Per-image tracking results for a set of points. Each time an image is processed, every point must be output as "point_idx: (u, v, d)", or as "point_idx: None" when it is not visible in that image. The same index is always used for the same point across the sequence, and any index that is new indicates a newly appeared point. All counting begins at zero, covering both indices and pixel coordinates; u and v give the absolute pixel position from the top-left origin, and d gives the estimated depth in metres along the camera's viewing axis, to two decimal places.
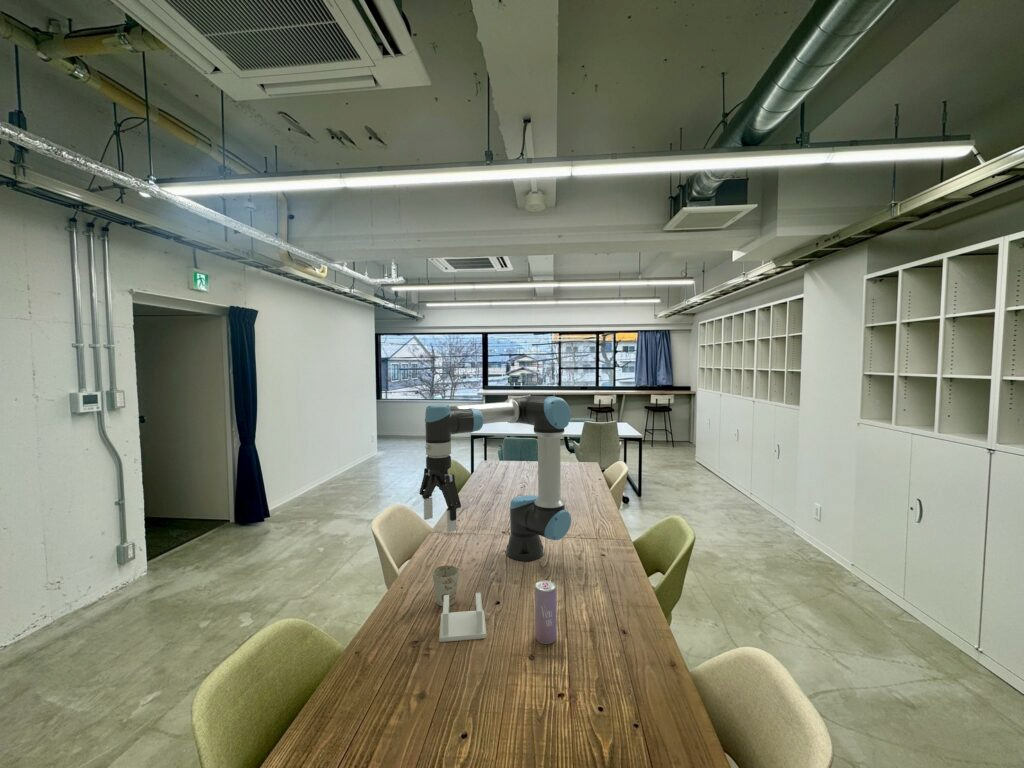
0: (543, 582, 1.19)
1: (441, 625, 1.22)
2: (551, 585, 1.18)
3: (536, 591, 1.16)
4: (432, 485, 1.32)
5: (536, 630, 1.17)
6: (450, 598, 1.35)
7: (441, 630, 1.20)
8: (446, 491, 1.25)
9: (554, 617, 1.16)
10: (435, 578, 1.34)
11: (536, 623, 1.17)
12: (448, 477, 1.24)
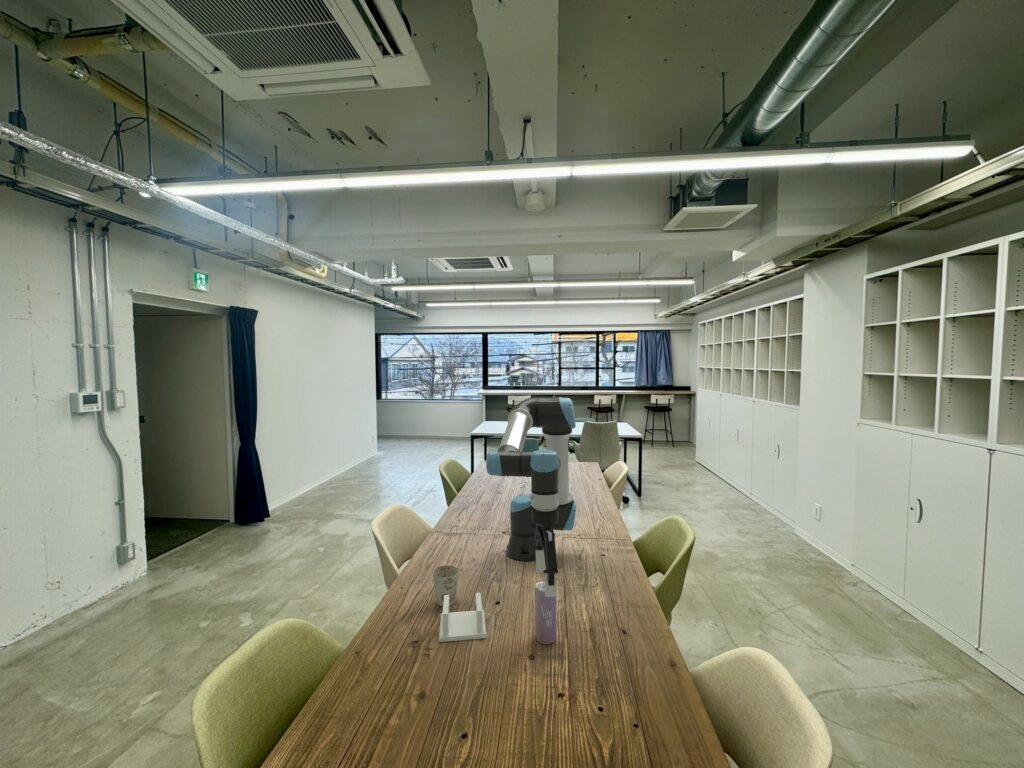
0: (543, 582, 1.19)
1: (441, 625, 1.22)
2: None
3: (536, 591, 1.16)
4: None
5: (536, 630, 1.17)
6: (450, 598, 1.35)
7: (441, 630, 1.20)
8: None
9: (554, 617, 1.16)
10: (435, 578, 1.34)
11: (536, 623, 1.17)
12: (547, 535, 1.10)
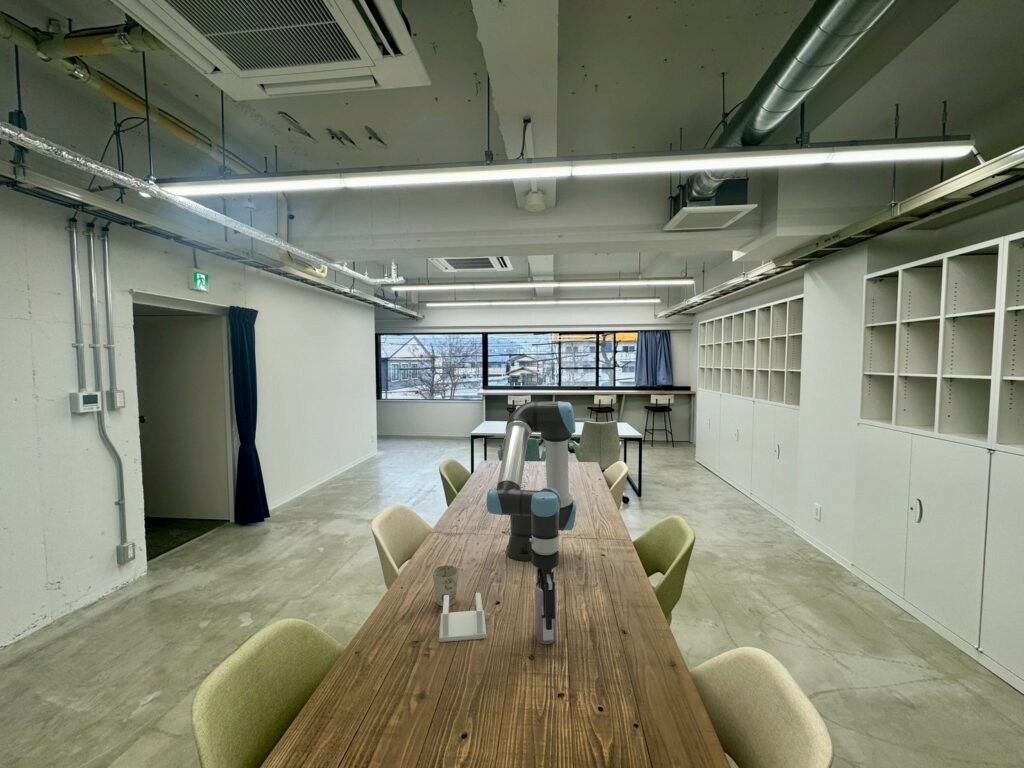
0: None
1: (441, 625, 1.22)
2: None
3: (536, 591, 1.16)
4: None
5: (536, 630, 1.17)
6: (450, 598, 1.35)
7: (441, 630, 1.20)
8: None
9: None
10: (435, 578, 1.34)
11: (536, 623, 1.17)
12: (547, 586, 1.11)
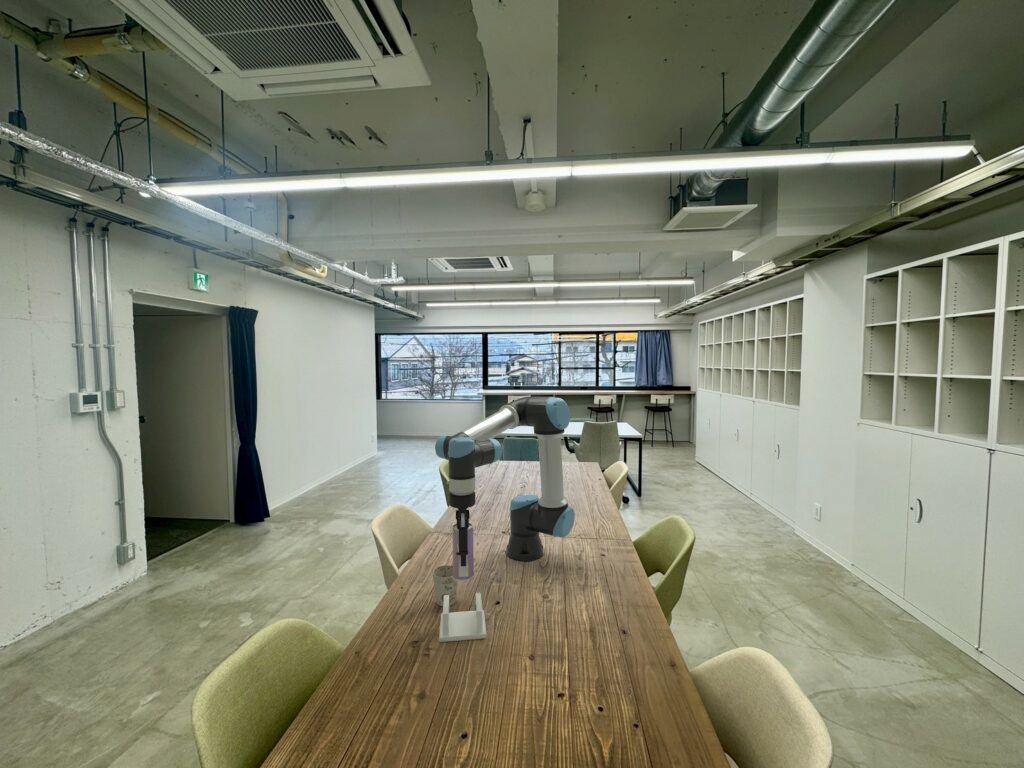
0: None
1: (441, 625, 1.22)
2: None
3: (453, 531, 1.21)
4: None
5: (453, 568, 1.22)
6: (450, 598, 1.35)
7: (441, 630, 1.20)
8: None
9: (470, 555, 1.21)
10: (435, 578, 1.34)
11: (453, 561, 1.22)
12: (459, 523, 1.16)
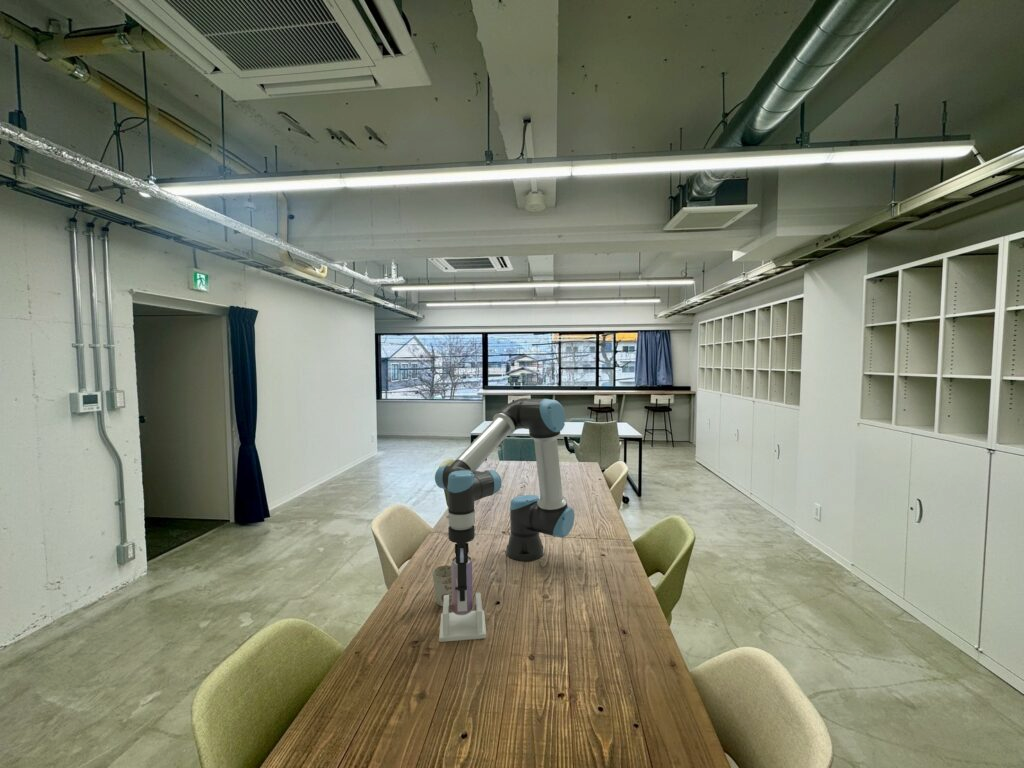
0: None
1: (441, 625, 1.22)
2: None
3: (452, 565, 1.22)
4: None
5: (452, 602, 1.22)
6: (450, 598, 1.35)
7: (441, 630, 1.20)
8: None
9: (469, 589, 1.21)
10: (435, 578, 1.34)
11: (452, 595, 1.22)
12: (458, 558, 1.16)
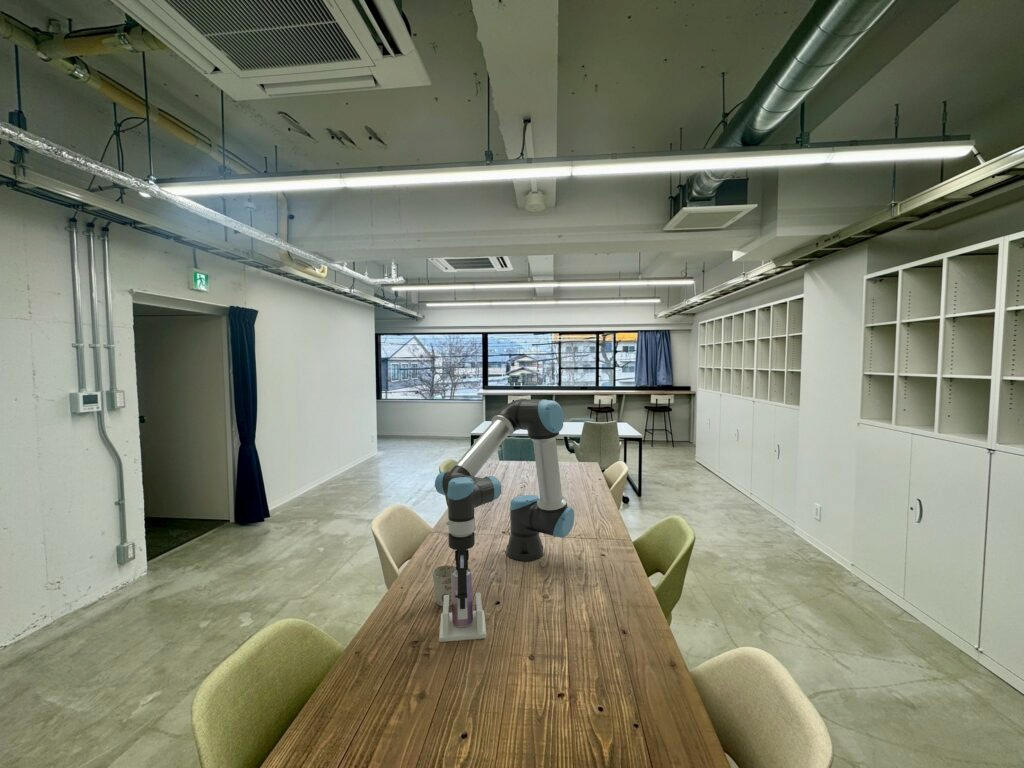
0: None
1: (441, 625, 1.22)
2: None
3: (451, 577, 1.22)
4: None
5: (452, 615, 1.22)
6: (450, 598, 1.35)
7: (441, 630, 1.20)
8: None
9: (469, 601, 1.22)
10: (435, 578, 1.34)
11: (452, 608, 1.22)
12: (458, 563, 1.16)
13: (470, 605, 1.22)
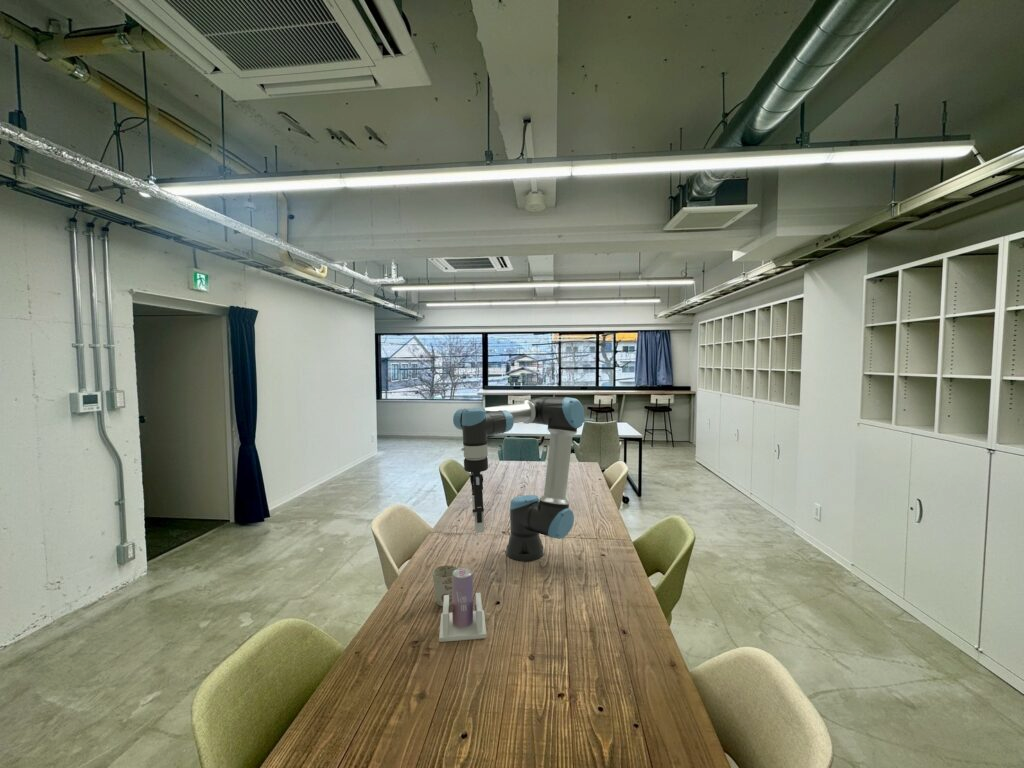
0: (461, 569, 1.25)
1: (441, 625, 1.22)
2: (468, 572, 1.23)
3: (452, 578, 1.22)
4: None
5: (453, 615, 1.22)
6: (450, 598, 1.35)
7: (441, 630, 1.20)
8: None
9: (470, 602, 1.22)
10: (435, 578, 1.34)
11: (452, 608, 1.22)
12: (474, 480, 1.26)
13: (470, 606, 1.22)
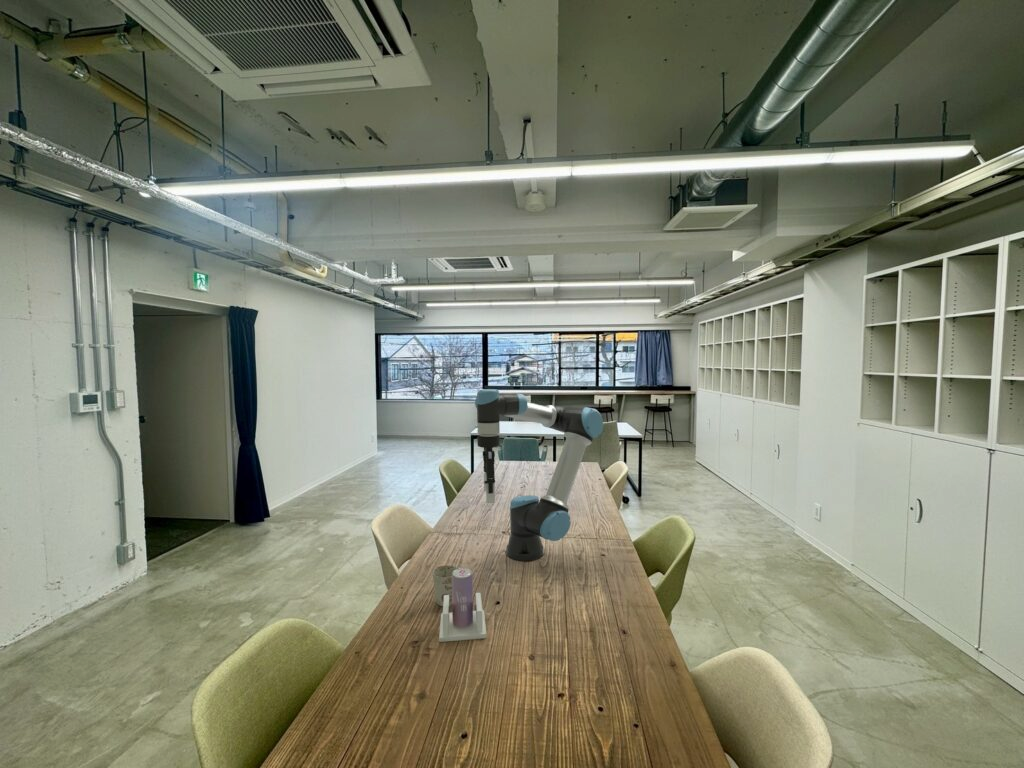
0: (461, 569, 1.25)
1: (441, 625, 1.22)
2: (467, 572, 1.23)
3: (452, 578, 1.22)
4: None
5: (453, 615, 1.22)
6: (450, 598, 1.35)
7: (441, 630, 1.20)
8: None
9: (470, 602, 1.22)
10: (435, 578, 1.34)
11: (452, 608, 1.22)
12: (487, 454, 1.38)
13: (470, 606, 1.22)
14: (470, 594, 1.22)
